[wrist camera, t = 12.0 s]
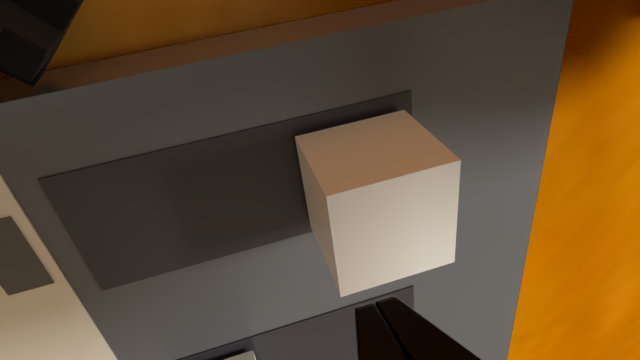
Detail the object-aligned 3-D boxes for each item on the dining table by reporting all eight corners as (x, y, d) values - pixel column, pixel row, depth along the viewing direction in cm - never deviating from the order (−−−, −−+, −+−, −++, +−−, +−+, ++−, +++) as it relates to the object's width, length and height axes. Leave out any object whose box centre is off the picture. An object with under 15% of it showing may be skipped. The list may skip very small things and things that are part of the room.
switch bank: (529, -27, 14) (580, -17, 12) (475, 396, 27) (495, 429, 25) (-201, 120, 11) (-273, 162, 9) (143, 517, 24) (141, 565, 22)
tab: (404, 109, 12) (461, 159, 10) (406, 200, 14) (454, 262, 12) (294, 136, 12) (326, 196, 9) (310, 227, 14) (340, 297, 11)
